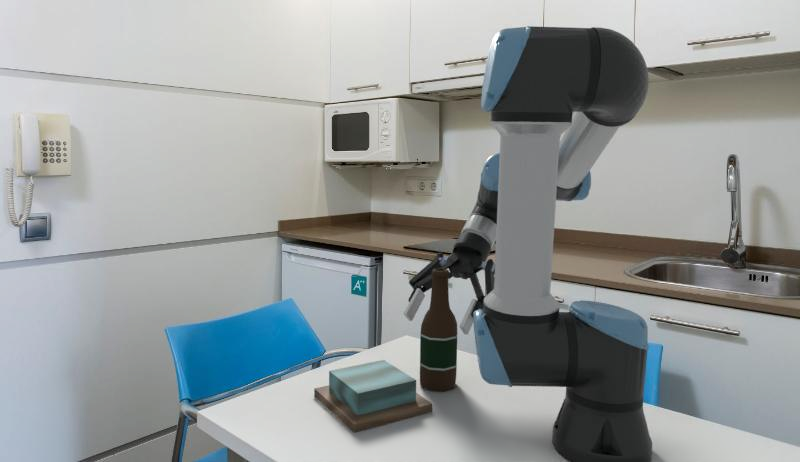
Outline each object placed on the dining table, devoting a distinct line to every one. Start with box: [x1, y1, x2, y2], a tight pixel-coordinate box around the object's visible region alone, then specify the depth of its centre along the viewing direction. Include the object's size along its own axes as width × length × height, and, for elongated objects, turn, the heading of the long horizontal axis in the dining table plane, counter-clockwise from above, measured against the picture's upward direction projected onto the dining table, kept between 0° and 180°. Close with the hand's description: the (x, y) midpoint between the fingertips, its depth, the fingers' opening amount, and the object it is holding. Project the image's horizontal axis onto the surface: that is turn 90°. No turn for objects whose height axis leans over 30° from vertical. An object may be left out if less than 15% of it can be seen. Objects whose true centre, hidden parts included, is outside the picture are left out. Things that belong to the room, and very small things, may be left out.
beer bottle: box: [419, 268, 458, 393], centre depth 115 cm, size 8×8×24 cm
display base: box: [313, 359, 434, 433], centre depth 107 cm, size 17×16×6 cm
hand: (434, 324), depth 114 cm, fingers open, 13 cm apart
